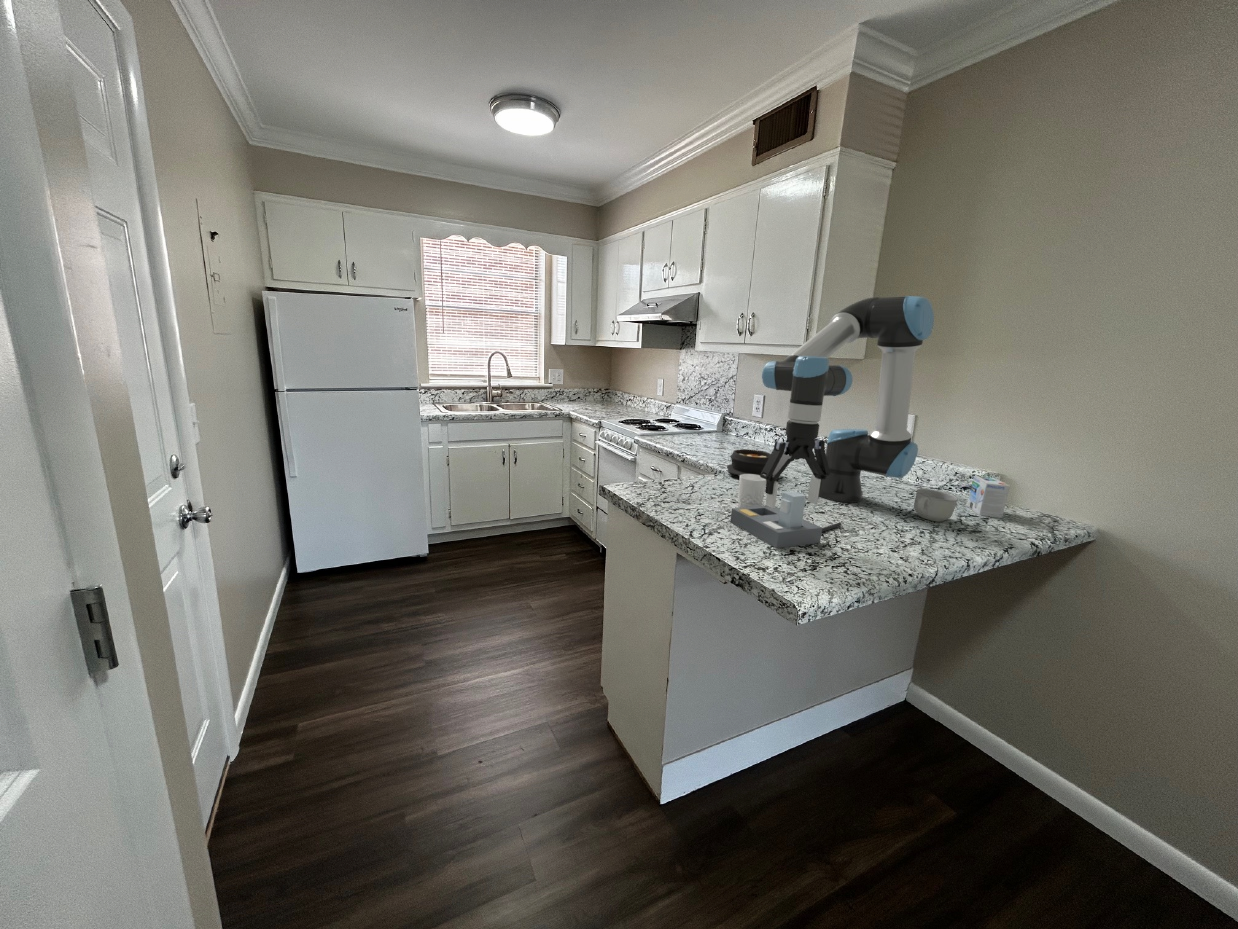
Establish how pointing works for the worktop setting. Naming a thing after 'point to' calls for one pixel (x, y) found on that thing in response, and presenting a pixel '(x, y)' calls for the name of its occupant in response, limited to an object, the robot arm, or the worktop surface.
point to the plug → (791, 509)
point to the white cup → (751, 490)
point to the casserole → (748, 462)
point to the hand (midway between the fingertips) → (791, 504)
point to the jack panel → (774, 527)
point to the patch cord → (831, 527)
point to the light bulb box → (988, 496)
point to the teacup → (934, 504)
